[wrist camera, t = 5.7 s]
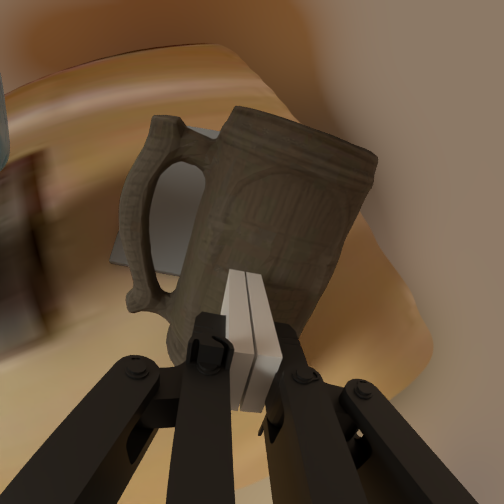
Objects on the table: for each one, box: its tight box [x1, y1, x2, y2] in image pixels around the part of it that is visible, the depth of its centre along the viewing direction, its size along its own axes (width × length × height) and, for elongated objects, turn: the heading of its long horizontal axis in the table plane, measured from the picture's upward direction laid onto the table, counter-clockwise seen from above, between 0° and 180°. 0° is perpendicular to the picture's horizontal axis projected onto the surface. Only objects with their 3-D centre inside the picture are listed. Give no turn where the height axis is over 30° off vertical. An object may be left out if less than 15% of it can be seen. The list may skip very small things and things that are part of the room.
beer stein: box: [119, 106, 378, 366], centre depth 19 cm, size 15×11×20 cm
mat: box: [109, 126, 220, 276], centre depth 35 cm, size 24×22×1 cm
